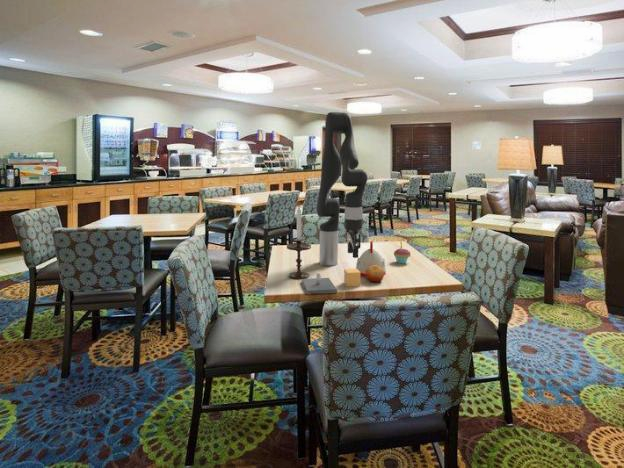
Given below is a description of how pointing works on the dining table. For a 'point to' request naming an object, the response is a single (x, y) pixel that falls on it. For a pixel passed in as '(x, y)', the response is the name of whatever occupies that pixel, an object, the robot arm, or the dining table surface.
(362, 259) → the kitchen timer
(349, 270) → the peach colored cube
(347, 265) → the dining table surface
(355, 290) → the dining table surface
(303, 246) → the candlestick
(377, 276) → the fruit
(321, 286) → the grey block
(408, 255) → the cupcake
